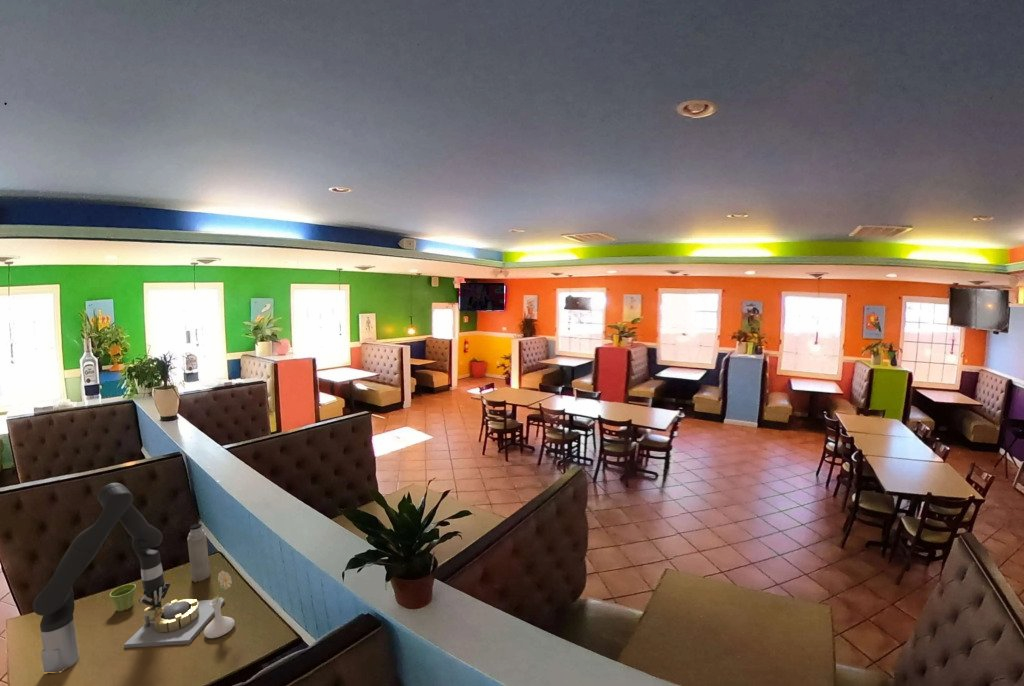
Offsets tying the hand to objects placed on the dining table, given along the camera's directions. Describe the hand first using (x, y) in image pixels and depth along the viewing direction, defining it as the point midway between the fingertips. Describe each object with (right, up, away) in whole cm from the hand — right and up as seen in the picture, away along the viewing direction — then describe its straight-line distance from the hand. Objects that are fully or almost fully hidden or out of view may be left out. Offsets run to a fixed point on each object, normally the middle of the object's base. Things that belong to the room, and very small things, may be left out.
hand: (157, 610), depth 207 cm
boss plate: (+12, -4, -4) cm, 13 cm away
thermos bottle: (-1, -1, +31) cm, 31 cm away
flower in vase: (+34, -4, -8) cm, 35 cm away
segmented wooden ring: (+9, -2, -4) cm, 10 cm away
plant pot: (-22, -4, +9) cm, 24 cm away
